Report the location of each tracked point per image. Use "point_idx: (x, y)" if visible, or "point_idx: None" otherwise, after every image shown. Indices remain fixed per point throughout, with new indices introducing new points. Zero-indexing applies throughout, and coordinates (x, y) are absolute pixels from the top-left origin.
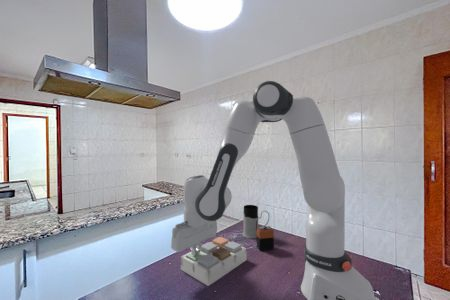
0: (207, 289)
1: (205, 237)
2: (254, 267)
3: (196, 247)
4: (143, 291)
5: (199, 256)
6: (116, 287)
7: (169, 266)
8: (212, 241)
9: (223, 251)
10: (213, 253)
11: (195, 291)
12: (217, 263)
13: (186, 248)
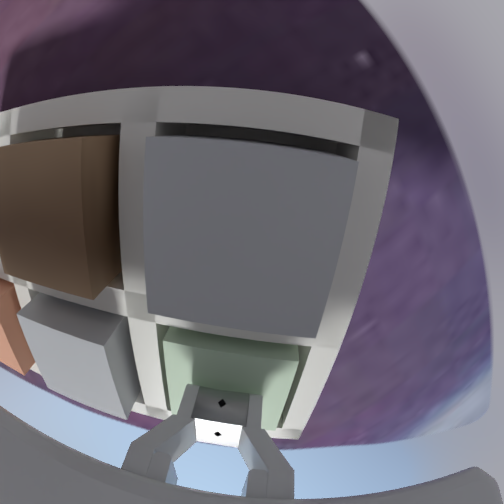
0: (381, 111)
1: (72, 480)
2: (28, 42)
3: (192, 442)
4: (475, 364)
5: (224, 361)
6: (461, 420)
7: None
8: (26, 368)
9: (20, 195)
10: (97, 274)
11: (430, 172)
12: (196, 120)
13: (403, 488)
